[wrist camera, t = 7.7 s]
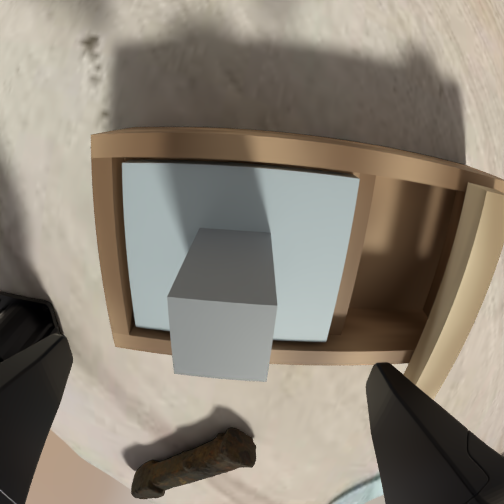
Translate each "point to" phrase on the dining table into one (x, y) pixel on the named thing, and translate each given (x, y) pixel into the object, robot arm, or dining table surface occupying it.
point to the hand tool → (195, 464)
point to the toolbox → (360, 243)
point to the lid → (234, 258)
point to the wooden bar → (460, 288)
